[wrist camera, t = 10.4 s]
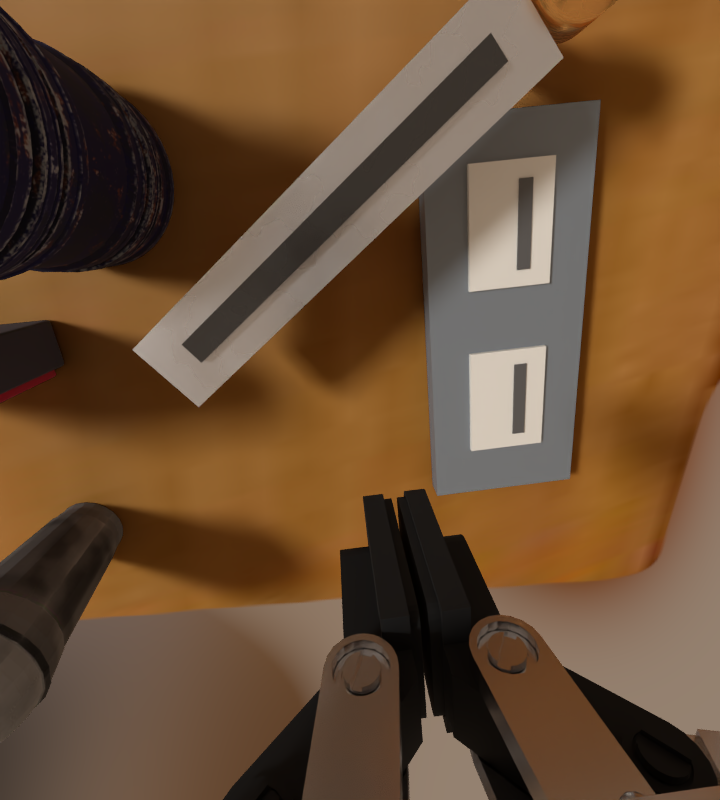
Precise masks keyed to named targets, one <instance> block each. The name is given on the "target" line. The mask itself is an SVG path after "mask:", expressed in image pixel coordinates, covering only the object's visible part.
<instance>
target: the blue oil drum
mask: <svg viewBox="0 0 720 800" xmlns="http://www.w3.org/2000/svg"><path fill="white" fill-rule="evenodd" d="M173 203H174V182H173V175H172V170H171V166H170V163H169V159H168V156H167V154H166V151H165V149H164V147H163V144H162V142H161V141H160V139H159V137H158V135H157V134H156V132H155V130H154V129H153V127H152V126H151V125H150V124H149V122H148V121H147V120H146V118H145V117H144V116H143V115H142V114H141V113H140V112H139V111H138V110H137V109H136V108H135V107H134V106H133V105H132V104H131V103H129V102H128V101H127V100H125V99H124V98H123V97H121V96H120V95H119V94H118V93H117V92H116V91H115V90H114V89H113V88H112V87H111V86H110V85H108V84H107V83H106V82H104V81H103V80H102V79H100V78H99V77H98V76H96V75H95V74H94V73H92V72H91V71H89V70H88V69H87V68H85V67H84V66H82V65H81V64H79V63H77V62H75V61H74V60H72V59H71V58H69V57H67V56H65V55H64V54H62V53H61V52H59V51H57V50H55V49H54V48H52V47H50V46H48V45H46V44H44V43H43V42H40V41H37V40H35V39H32V38H31V37H30V36H29V35H28V34H27V33H26V32H25V31H24V30H23V29H22V27H21V26H20V25H19V24H18V23H17V22H16V21H15V20H14V19H13V18H12V17H11V16H9V15H8V14H7V13H6V12H5V11H4V10H3V9H2V8H1V7H0V280H3V279H7V278H10V277H13V276H16V275H19V274H21V273H24V272H26V271H29V270H33V271H40V272H83V271H90V270H96V269H102V268H105V267H110V266H116V265H122V264H125V263H128V262H131V261H134V260H136V259H137V258H139V257H141V256H143V255H144V254H146V253H147V252H148V251H149V250H150V249H152V248H153V247H154V246H155V244H156V243H157V242H158V241H159V240H160V238H161V237H162V235H163V233H164V232H165V230H166V228H167V226H168V223H169V220H170V217H171V215H172V209H173Z"/></svg>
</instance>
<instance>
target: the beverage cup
mask: <svg viewBox="0 0 720 800" xmlns="http://www.w3.org/2000/svg"><path fill="white" fill-rule="evenodd" d="M122 536H123V526H122V524H121V522H120V519H119V518H118V517H117V516H116V515H115V513H114V512H112V511H111V510H109V509H108V508H106V507H104V506H101V505H98V504H96V503H79V504H75V505H73V506H71V507H69V508H67V510H66V511H65V512H63V513H62V514H60V515H59V516H58V517H56V518H54V519H52V520H51V521H50V522H49V523H48V524H46V525H45V526H44V527H43V528H41V529H40V530H39V531H38V532H37V533H35V534H34V535H33V536H32V537H31V538H29V539H28V540H27V541H26V542H24V543H23V544H22V545H21V546H20V547H18V548H17V549H16V550H15V551H13V552H12V553H11V554H10V555H9V556H7V557H6V558H5V559H4V560H3V561H1V562H0V743H1V742H2V741H3V740H4V739H6V738H7V737H8V736H9V735H10V734H11V733H12V732H13V731H14V730H15V729H16V728H17V727H19V726H20V724H21V723H22V722H23V721H24V720H25V719H26V718H27V717H28V716H29V715H30V713H31V712H32V710H33V709H34V708H35V707H36V706H37V705H38V704H39V703H40V702H41V701H42V700H43V699H44V698H45V697H46V694H47V692H48V689H49V687H50V684H51V679H52V677H53V675H54V672H55V670H56V667H57V665H58V663H59V660H60V658H61V655H62V652H63V650H64V646H65V644H66V643H67V641H68V639H69V637H70V635H71V633H72V632H73V630H74V628H75V626H76V624H77V622H78V621H79V619H80V617H81V615H82V613H83V611H84V609H85V608H86V606H87V604H88V602H89V600H90V598H91V597H92V595H93V593H94V591H95V589H96V587H97V585H98V584H99V582H100V580H101V578H102V576H103V574H104V573H105V571H106V569H107V567H108V565H109V563H110V561H111V560H112V558H113V556H114V553H115V551H116V548H117V546H118V544H119V543H120V541H121V538H122Z"/></svg>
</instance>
